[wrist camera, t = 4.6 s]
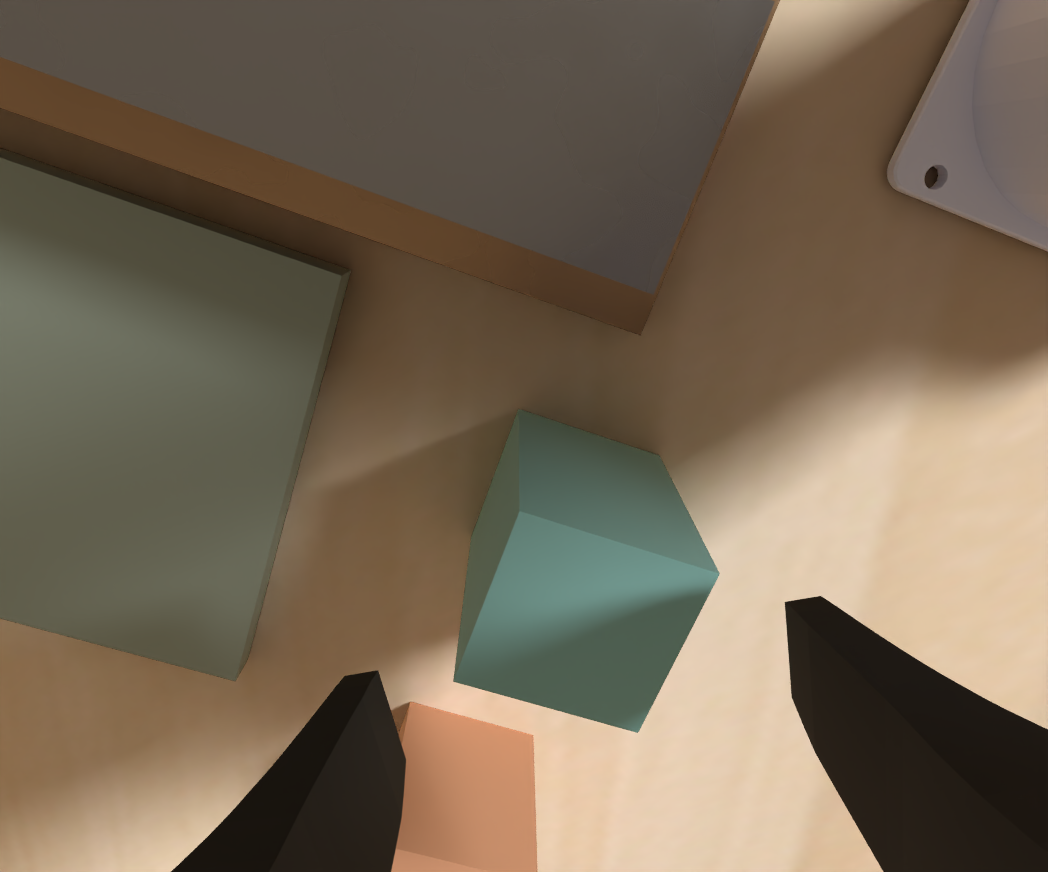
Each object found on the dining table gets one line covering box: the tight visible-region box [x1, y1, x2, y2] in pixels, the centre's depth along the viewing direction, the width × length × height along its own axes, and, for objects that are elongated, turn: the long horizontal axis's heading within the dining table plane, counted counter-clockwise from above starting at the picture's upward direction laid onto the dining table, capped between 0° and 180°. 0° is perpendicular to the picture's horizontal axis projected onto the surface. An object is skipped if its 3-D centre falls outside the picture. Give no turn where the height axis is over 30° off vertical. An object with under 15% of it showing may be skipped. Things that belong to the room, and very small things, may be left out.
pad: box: [0, 148, 351, 681], centre depth 18 cm, size 12×12×1 cm
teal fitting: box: [453, 409, 720, 733], centre depth 17 cm, size 4×4×6 cm
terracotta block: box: [391, 702, 537, 872], centre depth 20 cm, size 4×4×5 cm
